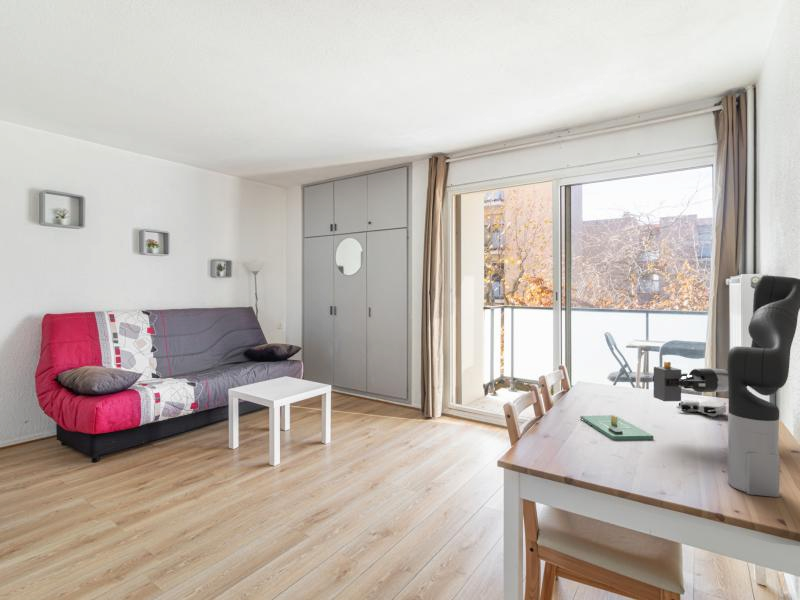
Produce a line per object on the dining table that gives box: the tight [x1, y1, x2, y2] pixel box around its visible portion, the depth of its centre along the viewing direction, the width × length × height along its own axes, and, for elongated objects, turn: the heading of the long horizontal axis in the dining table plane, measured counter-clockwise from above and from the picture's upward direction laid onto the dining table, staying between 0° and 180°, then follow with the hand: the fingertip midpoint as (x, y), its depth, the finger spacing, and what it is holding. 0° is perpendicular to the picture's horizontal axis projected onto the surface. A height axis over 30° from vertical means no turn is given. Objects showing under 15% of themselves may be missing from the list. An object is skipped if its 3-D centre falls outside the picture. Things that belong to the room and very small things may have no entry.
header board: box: [579, 414, 654, 441], centre depth 144 cm, size 22×13×4 cm, turn 2°
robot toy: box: [676, 399, 727, 418], centre depth 163 cm, size 12×4×15 cm
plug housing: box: [653, 361, 682, 402], centre depth 136 cm, size 5×5×12 cm
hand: (659, 380), depth 136 cm, fingers closed on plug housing, 5 cm apart
